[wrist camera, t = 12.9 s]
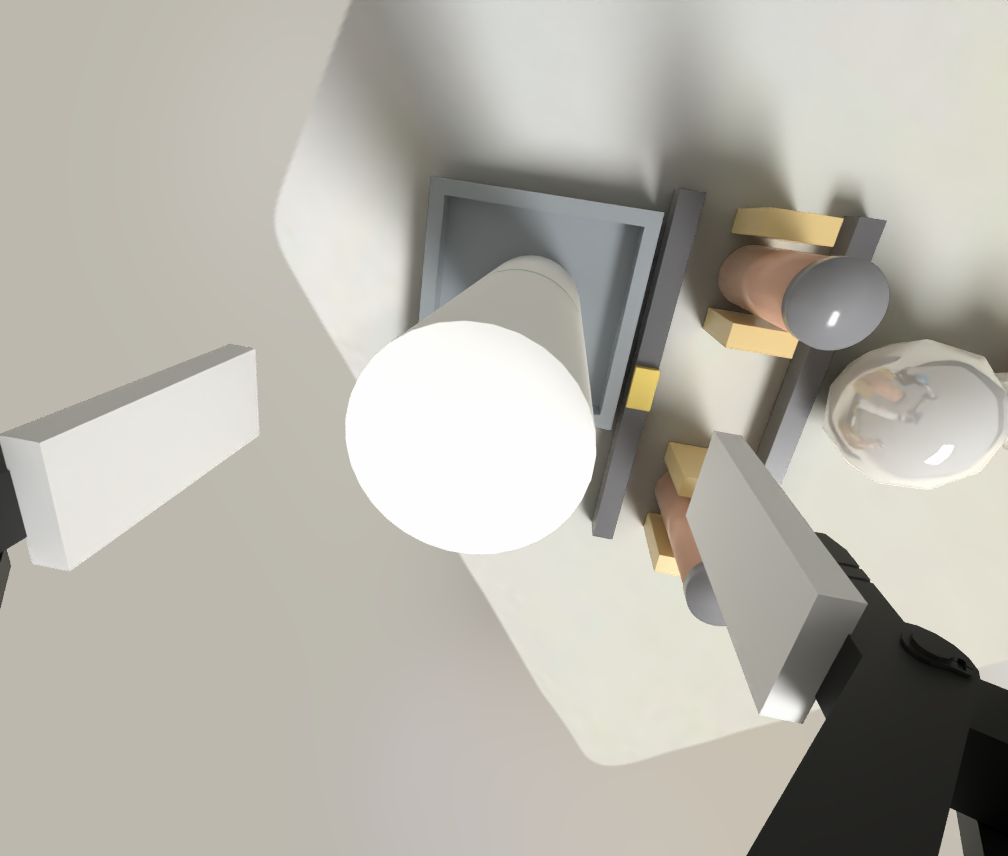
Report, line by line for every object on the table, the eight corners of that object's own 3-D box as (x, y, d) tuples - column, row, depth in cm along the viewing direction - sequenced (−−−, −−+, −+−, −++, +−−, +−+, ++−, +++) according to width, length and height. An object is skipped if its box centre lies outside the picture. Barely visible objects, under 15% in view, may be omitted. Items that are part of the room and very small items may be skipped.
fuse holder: (674, 190, 34) (694, 184, 29) (869, 220, 34) (928, 221, 28) (591, 522, 44) (594, 565, 39) (740, 550, 44) (765, 598, 38)
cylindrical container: (460, 305, 38) (296, 438, 15) (531, 232, 36) (464, 260, 13) (528, 374, 40) (470, 592, 17) (600, 308, 37) (651, 457, 14)
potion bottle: (784, 372, 39) (986, 360, 39) (809, 502, 37) (1025, 490, 37) (861, 317, 30) (1125, 300, 30) (901, 483, 28) (1188, 467, 28)
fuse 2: (727, 238, 35) (809, 249, 23) (790, 248, 35) (905, 265, 23) (709, 301, 37) (776, 342, 25) (769, 311, 37) (866, 357, 25)
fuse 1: (661, 462, 42) (698, 561, 30) (714, 472, 42) (772, 575, 30) (648, 507, 43) (678, 618, 31) (698, 517, 43) (748, 632, 31)
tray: (439, 178, 36) (430, 175, 34) (658, 212, 35) (664, 212, 33) (421, 384, 42) (412, 394, 39) (608, 418, 41) (610, 430, 39)
